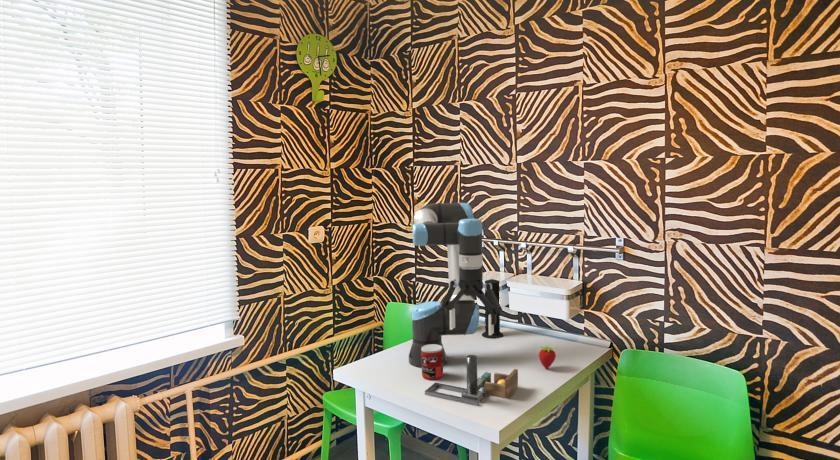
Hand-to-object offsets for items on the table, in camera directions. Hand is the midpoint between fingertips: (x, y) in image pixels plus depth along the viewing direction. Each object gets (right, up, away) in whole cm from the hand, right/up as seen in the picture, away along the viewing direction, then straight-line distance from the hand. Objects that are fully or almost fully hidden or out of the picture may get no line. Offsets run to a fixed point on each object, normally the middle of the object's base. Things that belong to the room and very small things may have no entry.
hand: (471, 331), depth 159 cm
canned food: (-12, -21, +21) cm, 33 cm away
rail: (-4, -23, +5) cm, 23 cm away
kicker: (+3, -22, +6) cm, 23 cm away
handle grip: (+17, -16, +68) cm, 72 cm away
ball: (+13, -21, +6) cm, 25 cm away
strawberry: (+31, -20, +26) cm, 45 cm away
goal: (+11, -22, +8) cm, 26 cm away
